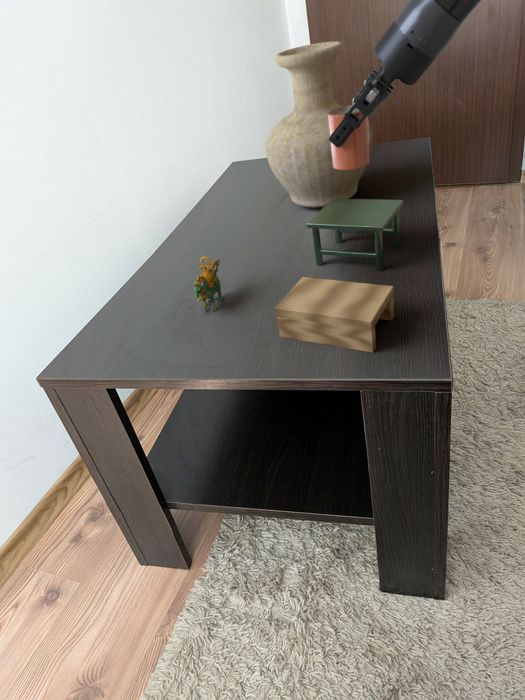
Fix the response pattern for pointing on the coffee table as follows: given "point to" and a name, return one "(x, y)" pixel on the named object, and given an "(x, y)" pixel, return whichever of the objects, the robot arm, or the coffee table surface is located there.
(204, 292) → the figurine
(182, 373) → the coffee table surface
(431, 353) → the coffee table surface
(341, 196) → the vase
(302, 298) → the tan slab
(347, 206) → the green miniature table
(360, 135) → the cup
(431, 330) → the coffee table surface
